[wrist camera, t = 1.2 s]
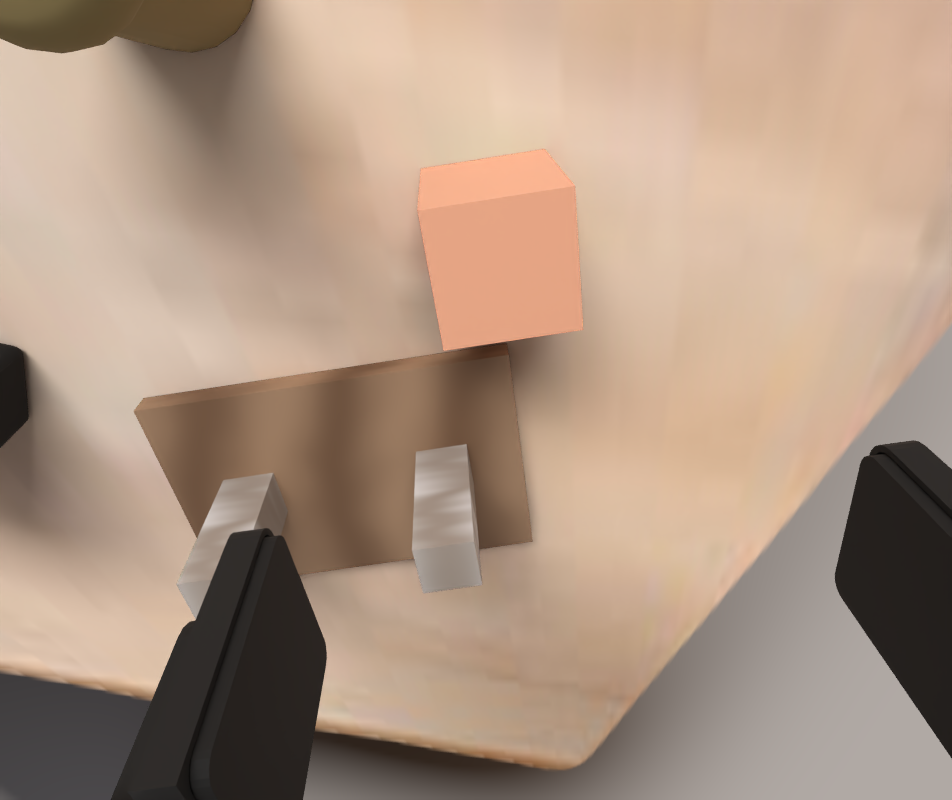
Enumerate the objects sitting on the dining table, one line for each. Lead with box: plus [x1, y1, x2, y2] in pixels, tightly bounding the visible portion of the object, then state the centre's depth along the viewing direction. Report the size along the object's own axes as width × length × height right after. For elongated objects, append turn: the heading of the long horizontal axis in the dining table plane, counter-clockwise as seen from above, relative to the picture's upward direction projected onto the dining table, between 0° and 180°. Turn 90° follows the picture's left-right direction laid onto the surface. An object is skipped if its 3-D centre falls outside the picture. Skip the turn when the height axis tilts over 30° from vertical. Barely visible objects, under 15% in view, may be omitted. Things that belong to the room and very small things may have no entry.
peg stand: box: [134, 344, 532, 619], centre depth 31 cm, size 18×12×8 cm, turn 98°
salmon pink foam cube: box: [417, 149, 583, 351], centre depth 25 cm, size 5×5×7 cm
